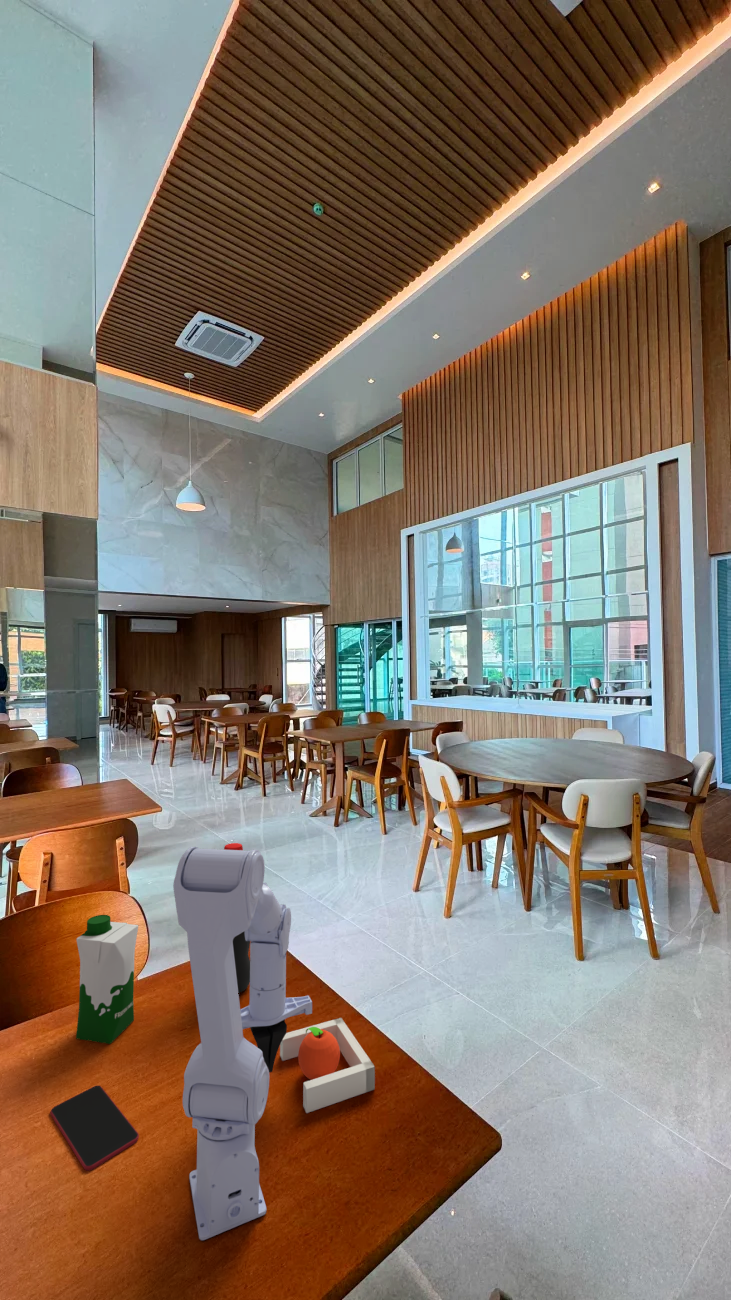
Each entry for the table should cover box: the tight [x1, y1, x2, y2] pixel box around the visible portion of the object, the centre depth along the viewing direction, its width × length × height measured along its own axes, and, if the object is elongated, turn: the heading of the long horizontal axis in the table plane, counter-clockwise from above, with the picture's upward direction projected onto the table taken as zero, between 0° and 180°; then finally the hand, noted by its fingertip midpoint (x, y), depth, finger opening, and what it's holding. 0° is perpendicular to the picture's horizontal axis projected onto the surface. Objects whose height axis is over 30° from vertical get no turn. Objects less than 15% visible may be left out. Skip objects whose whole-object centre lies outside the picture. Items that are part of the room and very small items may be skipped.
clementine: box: [297, 1026, 341, 1081], centre depth 91 cm, size 8×7×7 cm
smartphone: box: [50, 1085, 140, 1172], centre depth 80 cm, size 7×1×15 cm
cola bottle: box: [223, 842, 251, 994], centre depth 117 cm, size 8×8×30 cm
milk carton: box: [75, 914, 139, 1045], centre depth 103 cm, size 9×9×20 cm
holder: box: [279, 1017, 376, 1114], centre depth 92 cm, size 14×12×4 cm
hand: (266, 1068), depth 87 cm, fingers closed
